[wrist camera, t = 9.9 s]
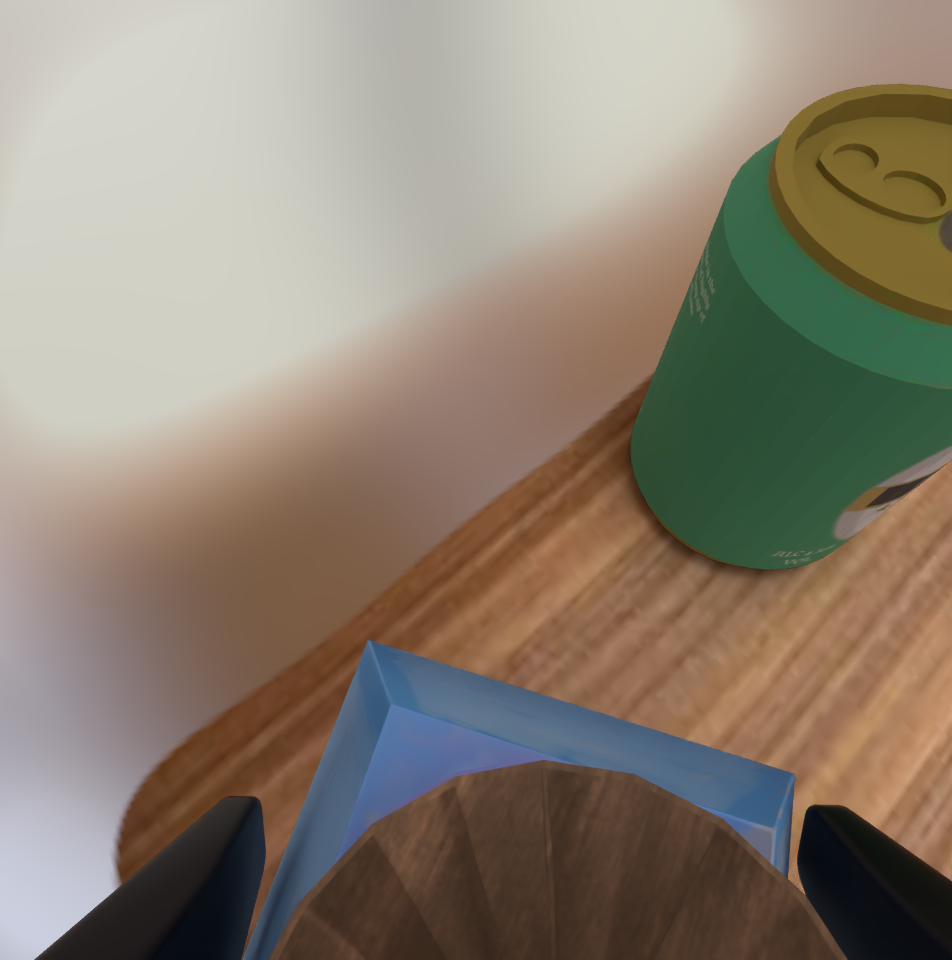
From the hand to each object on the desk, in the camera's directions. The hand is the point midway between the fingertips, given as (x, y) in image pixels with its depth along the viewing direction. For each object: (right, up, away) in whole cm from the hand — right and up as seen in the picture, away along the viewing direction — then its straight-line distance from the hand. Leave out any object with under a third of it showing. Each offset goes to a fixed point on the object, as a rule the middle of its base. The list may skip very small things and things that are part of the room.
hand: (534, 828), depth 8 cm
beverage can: (+9, +4, +16) cm, 18 cm away
